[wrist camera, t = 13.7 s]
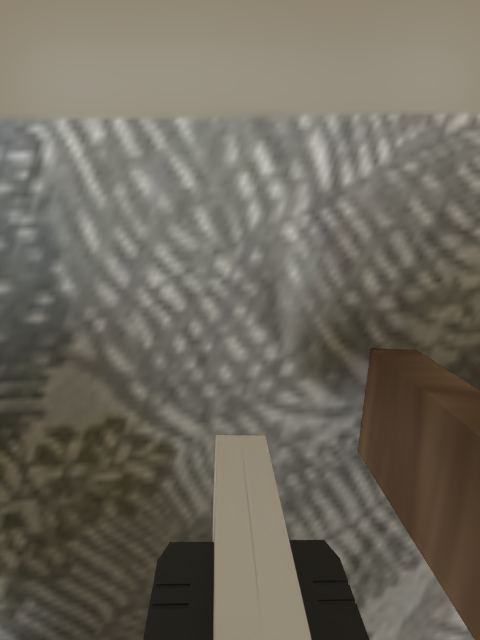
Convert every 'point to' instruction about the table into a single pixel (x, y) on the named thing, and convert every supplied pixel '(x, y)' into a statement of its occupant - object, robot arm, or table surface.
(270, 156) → the table surface
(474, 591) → the domino
